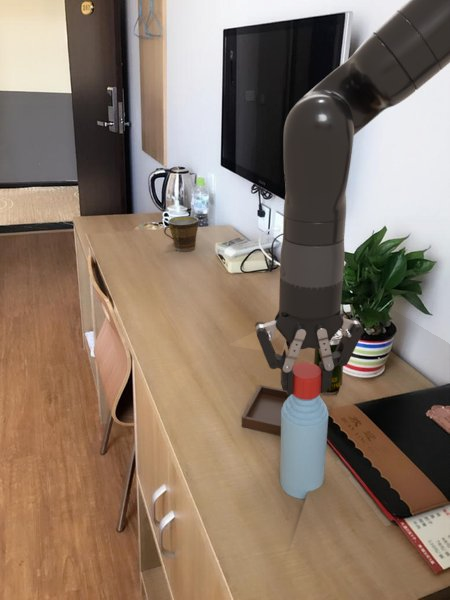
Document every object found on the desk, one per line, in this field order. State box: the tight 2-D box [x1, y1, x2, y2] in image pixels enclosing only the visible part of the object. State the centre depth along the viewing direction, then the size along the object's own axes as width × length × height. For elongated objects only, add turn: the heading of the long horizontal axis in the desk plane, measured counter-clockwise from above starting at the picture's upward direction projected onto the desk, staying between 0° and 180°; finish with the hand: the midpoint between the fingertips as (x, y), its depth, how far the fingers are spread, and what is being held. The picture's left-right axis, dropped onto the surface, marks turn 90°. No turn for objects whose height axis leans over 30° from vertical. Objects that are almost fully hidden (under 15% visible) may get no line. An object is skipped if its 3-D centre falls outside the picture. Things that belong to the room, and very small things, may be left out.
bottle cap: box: [292, 362, 322, 400], centre depth 67 cm, size 4×4×3 cm
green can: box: [313, 328, 344, 396], centre depth 93 cm, size 5×5×12 cm
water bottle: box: [279, 394, 329, 500], centre depth 71 cm, size 6×6×19 cm
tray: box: [241, 384, 290, 437], centre depth 88 cm, size 11×10×2 cm
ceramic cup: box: [163, 215, 199, 253], centre depth 167 cm, size 13×10×10 cm
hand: (305, 389), depth 68 cm, fingers closed on bottle cap, 4 cm apart
